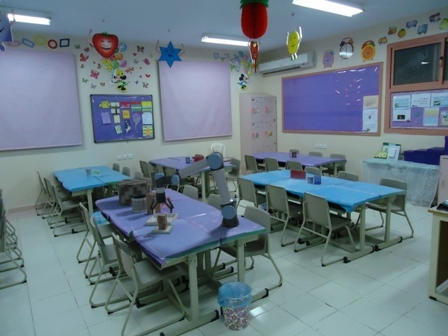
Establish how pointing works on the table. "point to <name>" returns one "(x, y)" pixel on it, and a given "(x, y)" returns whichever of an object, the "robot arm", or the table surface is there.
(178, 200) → the table surface
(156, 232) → the board
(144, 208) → the planter
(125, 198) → the storage box
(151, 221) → the tray
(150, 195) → the wooden block
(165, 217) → the walnut box
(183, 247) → the table surface
